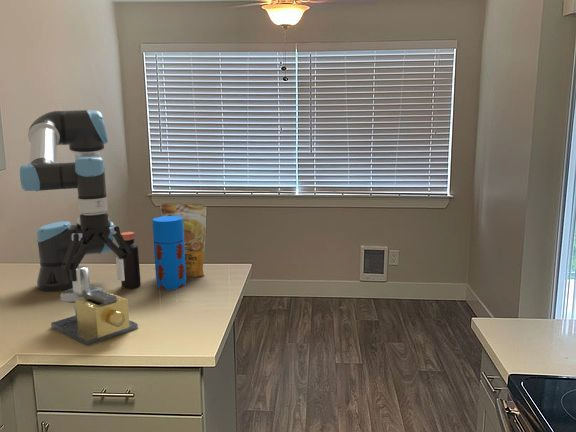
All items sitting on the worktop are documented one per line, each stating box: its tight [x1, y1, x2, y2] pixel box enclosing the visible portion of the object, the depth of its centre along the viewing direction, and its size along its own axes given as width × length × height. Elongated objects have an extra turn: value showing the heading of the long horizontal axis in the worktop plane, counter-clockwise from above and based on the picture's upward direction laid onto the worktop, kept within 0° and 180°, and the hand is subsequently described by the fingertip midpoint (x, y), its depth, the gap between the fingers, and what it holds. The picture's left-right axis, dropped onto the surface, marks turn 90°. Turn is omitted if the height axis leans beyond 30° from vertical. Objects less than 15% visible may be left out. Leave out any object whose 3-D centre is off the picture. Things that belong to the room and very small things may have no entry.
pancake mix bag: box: [158, 203, 209, 278], centre depth 214 cm, size 7×19×28 cm, turn 76°
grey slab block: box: [84, 290, 117, 305], centre depth 159 cm, size 10×4×10 cm, turn 51°
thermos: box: [152, 216, 187, 291], centre depth 201 cm, size 11×11×25 cm
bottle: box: [118, 231, 142, 290], centre depth 201 cm, size 7×7×20 cm
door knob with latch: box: [50, 265, 139, 347], centre depth 161 cm, size 26×16×18 cm, turn 49°
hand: (100, 285), depth 157 cm, fingers open, 13 cm apart
